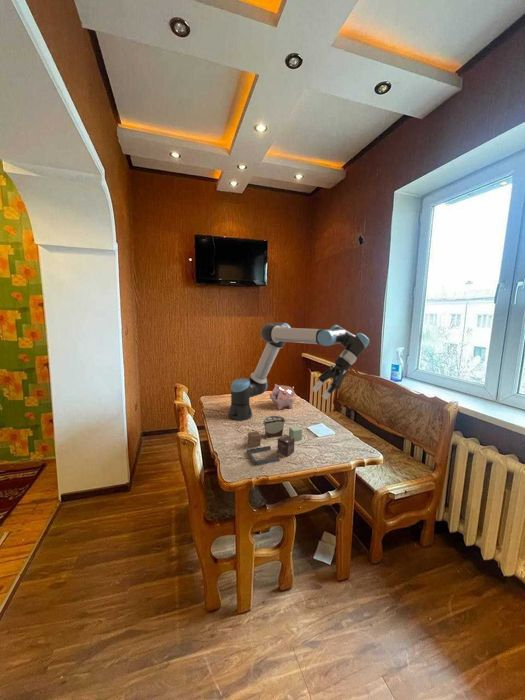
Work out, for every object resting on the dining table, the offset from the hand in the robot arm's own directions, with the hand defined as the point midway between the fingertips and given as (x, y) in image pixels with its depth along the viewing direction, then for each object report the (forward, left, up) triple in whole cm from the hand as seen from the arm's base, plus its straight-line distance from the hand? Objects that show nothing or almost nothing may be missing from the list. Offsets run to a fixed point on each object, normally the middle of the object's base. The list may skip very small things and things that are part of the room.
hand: (318, 394), depth 135 cm
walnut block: (-12, -28, -28) cm, 42 cm away
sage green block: (-11, -5, -28) cm, 31 cm away
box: (0, -16, -28) cm, 32 cm away
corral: (0, -28, -28) cm, 40 cm away
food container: (-19, -15, -28) cm, 37 cm away
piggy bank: (-57, +9, -28) cm, 65 cm away
